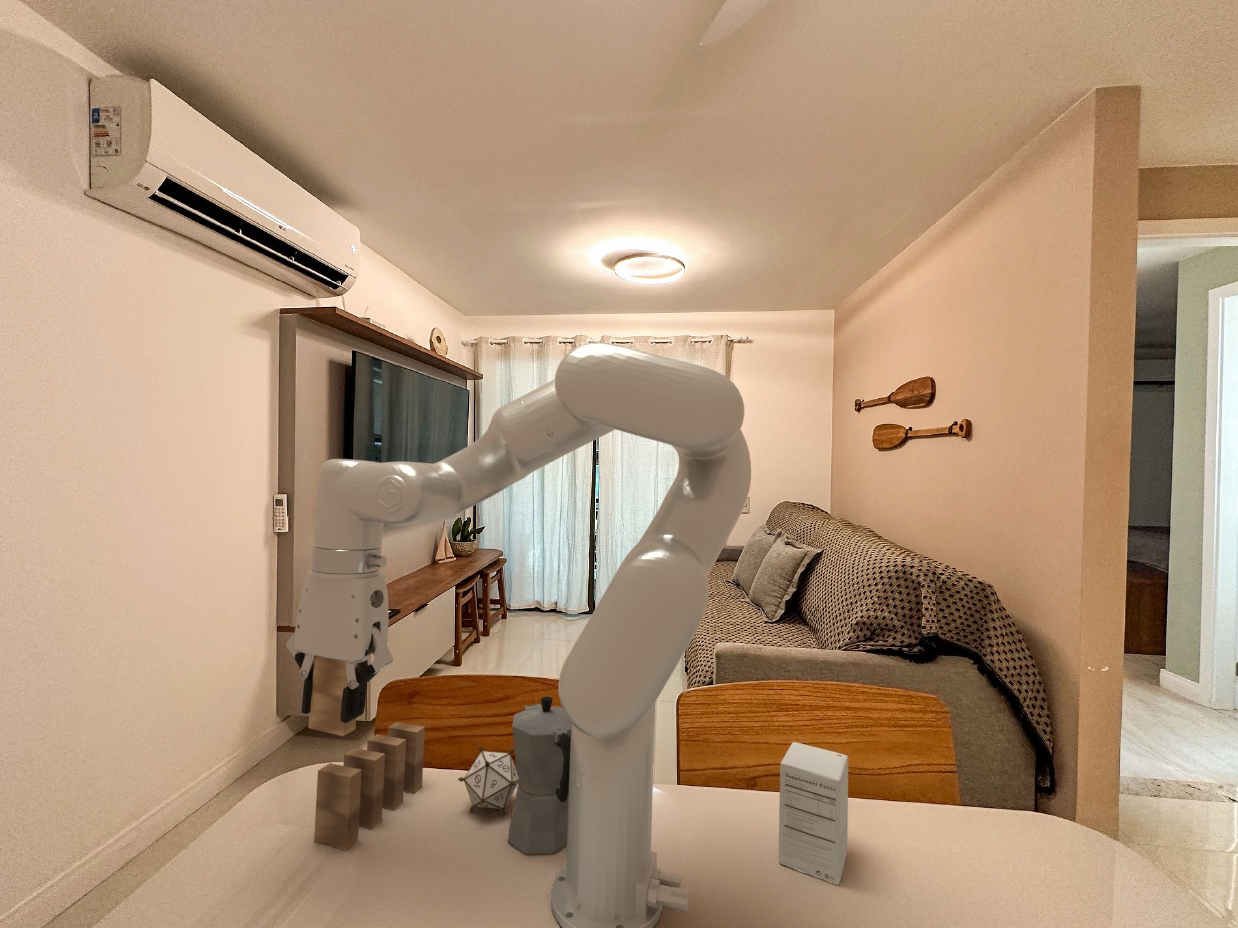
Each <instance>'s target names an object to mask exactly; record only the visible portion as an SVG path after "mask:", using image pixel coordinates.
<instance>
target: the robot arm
mask: <svg viewBox="0 0 1238 928" xmlns="http://www.w3.org/2000/svg"><path fill="white" fill-rule="evenodd" d="M743 399H744V398H743V397H742V395H741V392H740V390H739V388H738V387H737V386H736V384H735V383H734V382H733V381H732V380H731V379H729V378H728V377H727V376H725V375H724V374H722V373H721V372H718V371H717V370H714V369H712V368H709V367H706V366H702V365H699V364H695V363H694V364H693V363H690V362H687V361H681V360H678V359H675V358H669V357H666V356H662V355H658V354H654V353H650V352H646V351H642V350H638V349H634V348H631V347H628V346H622V345H619V344H614V343H609V342H600V341H599V342H597V341H594V342H588V343H587V342H586V343H584V344H581V345H578V346H577V347H575V348H573V349H571V350H570V351H569V352H568V353H567V354H565V355H564V356H563V358H562V359H561V361H560V362H559V365H558V366H557V368H556V371H555V376H554V379H552V380H551V381H549V382H547V383H545V384H543V385H541V386H539V387H537V388H535V389H533V390H531V391H529V392H527V393H525V394H523V395H521V396H520V397H517V398H515V399H514V400H511V401H509V402H507V403H506V404H504V405H502V406H500V407H499V408H497V410H495V412H494V413H493V415H492V417H491V420H490V423H489V426H488V427H487V429H486V430H485V432H484V433H483V434H482V435H481V436H480V437H479V438H478V439H477V440H476V441H474V442H472V443H471V444H469V445H468V446H466V447H464V448H463V449H461V450H459V451H458V452H455V453H453V454H452V455H449V456H448V457H445V458H443V459H442V460H440V461H437V462H435V463H429V462H421V461H420V462H418V461H415V462H414V461H388V462H387V461H386V462H377V461H372V460H371V461H370V460H363V459H361V460H360V459H349V458H348V459H347V458H331V459H328V460H326V461H324V462H323V464H322V465H321V467H320V470H319V477H318V487H317V496H316V507H315V508H316V509H315V517H314V518H315V519H314V529H313V537H312V539H313V541H312V551H311V560H310V570H308V571H307V573H306V576H305V579H304V582H303V585H302V589H301V594H300V598H299V603H298V608H297V612H296V613H297V614H296V620H295V630H294V633H292V635H291V636H290V637H289V638H288V640H287V641H286V643H285V646H286V649H288V651H289V652H290V653H291V655H292V656H293V657H294V660H295V663H296V664H297V666H298V667H299V670H300V671H299V677H300V678H301V679H302V680H303V693H302V701H301V711H300V712H301V714H305V715H309V714H310V709H311V698H312V687H313V671H314V661H315V658H316V656H317V657H322V658H328V659H333V660H338V661H344V662H345V666H346V673H347V680H348V687H346V688H344V689H343V695H342V707H341V718H340V720H341V722H344V723H347V722H349V721H351V720H353V719H355V718H356V719H357V718H358V717H361V716H363V714H364V713H365V707H366V700H367V698H366V697H367V691H368V690H367V688H368V683H369V682H371V681H372V680H373V679H374V677H375V676H377V675H378V674H379V672H381V670H383V669H385V668H386V667H388V666H390V665H391V664H392V663H393V661H394V657H393V655H392V653H391V650H390V649H389V647H388V639H389V638H388V637H389V596H388V595H389V593H388V586H387V578H386V575H385V573H381V572H380V569H381V568H384V567H386V565H387V561H388V559H387V557H386V556H384V555H382V548H383V545H382V544H383V537H384V524H385V525H389V526H393V527H407V526H416V525H421V524H427V523H435V522H441V521H443V520H447V519H449V518H451V517H455V516H456V515H459V514H460V513H463V512H465V511H467V510H468V509H470V508H472V507H474V506H476V505H478V504H480V503H482V502H484V501H486V500H488V499H490V498H492V497H493V496H496V495H498V493H500V492H502V491H504V490H505V489H507V488H508V487H510V486H512V485H513V484H515V483H517V482H520V481H521V480H523V479H525V478H526V477H527V476H528V475H530V474H532V473H534V472H535V471H537V470H539V469H541V468H542V467H545V466H547V465H549V464H550V463H553V462H554V461H556V460H558V459H560V458H561V457H564V456H565V455H568V454H569V453H572V452H574V451H576V450H577V449H579V448H581V447H584V446H585V445H587V444H588V445H589V444H590V443H592V442H594V441H595V440H598V439H600V438H601V437H603V436H606V435H608V434H609V433H611V432H613V431H615V430H617V431H619V432H623V433H627V434H631V435H634V436H637V437H641V438H645V439H648V440H652V441H655V442H659V443H662V444H667V445H669V446H671V447H673V449H674V450H675V451H676V453H677V456H678V468H677V469H678V470H677V473H676V476H675V478H674V480H673V482H672V484H671V485H670V488H669V489H668V491H667V493H666V495H665V496H664V498H663V500H662V503H661V504H660V506H659V508H658V510H657V512H656V513H655V515H654V517H653V518H652V520H651V521H650V523H649V525H648V527H647V528H646V530H645V531H644V533H643V534H642V536H641V538H640V539H639V541H638V542H637V543H636V545H634V546H633V547H632V549H631V550H629V552H628V553H627V555H626V556H625V558H624V559H623V560H622V562H621V564H620V565H619V567H618V569H617V570H616V572H615V574H614V576H613V577H612V579H611V581H610V583H609V584H608V586H607V588H606V590H605V592H604V593H603V595H602V597H601V598H600V600H599V602H598V603H597V605H596V607H595V609H594V610H593V613H592V614H591V616H590V617H589V619H588V621H587V623H586V624H585V626H584V628H583V629H582V631H581V632H580V635H579V636H578V638H577V639H576V640H575V643H574V644H573V646H572V649H571V650H570V651H569V653H568V655H567V657H566V658H565V660H564V662H563V665H562V667H561V670H560V672H559V679H558V696H559V701H560V705H561V708H563V711H564V713H565V715H566V716H567V718H568V719H569V721H570V722H571V723H572V727H571V747H570V774H569V802H568V830H567V846H566V860H565V861H566V865H565V867H564V868H563V869H561V870H560V871H559V873H558V874H557V875H556V877H555V879H554V881H553V883H552V885H551V891H550V905H551V911H552V914H553V916H554V918H555V920H556V921H557V922H558V924H559V925H560V927H562V928H654V927H655V925H656V924H657V923H658V921H659V919H660V918H661V916H662V912H663V907H668V908H670V909H671V910H676V911H680V912H684V913H687V912H688V910H689V901H690V889H687V888H686V889H685V888H682V874H677V873H672V872H665V871H662V868H660V867H657V865H658V863H657V862H658V852H655V851H651V850H652V822H653V821H652V820H653V818H652V817H653V790H654V789H653V787H654V785H653V784H654V783H653V782H654V763H655V762H654V760H655V736H656V735H655V733H656V732H655V731H656V730H655V729H656V726H655V725H656V707H657V705H656V702H657V700H658V698H659V696H660V695H661V693H662V691H663V690H664V688H665V686H667V683H668V682H669V679H670V678H671V677H672V675H673V673H674V671H675V670H676V668H677V666H678V664H679V663H680V662H681V661H680V660H681V659H682V657H683V655H684V653H686V651H687V649H688V647H689V645H690V644H691V642H692V640H693V638H694V637H695V634H696V633H697V631H698V629H699V627H700V625H701V623H702V620H703V618H704V616H705V612H706V610H707V607H708V602H709V595H710V589H709V581H708V577H709V575H710V573H711V571H712V569H713V568H714V565H715V564H716V562H717V560H718V559H719V556H720V555H721V553H722V551H723V549H724V547H726V546H725V545H726V544H727V541H728V539H729V537H730V535H731V534H732V531H733V530H734V528H735V526H736V524H737V522H738V520H739V519H740V516H741V514H742V512H743V510H744V507H745V505H746V503H747V499H748V497H749V493H750V488H751V483H752V482H751V481H752V461H751V455H750V451H749V446H748V444H747V441H746V438H745V436H744V433H743V431H742V430H741V429H742V426H743V423H744V418H745V403H744V400H743ZM371 654H372V655H373V661H372V659H371ZM359 663H360V672H359V673H358V666H357V664H359Z"/></svg>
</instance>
